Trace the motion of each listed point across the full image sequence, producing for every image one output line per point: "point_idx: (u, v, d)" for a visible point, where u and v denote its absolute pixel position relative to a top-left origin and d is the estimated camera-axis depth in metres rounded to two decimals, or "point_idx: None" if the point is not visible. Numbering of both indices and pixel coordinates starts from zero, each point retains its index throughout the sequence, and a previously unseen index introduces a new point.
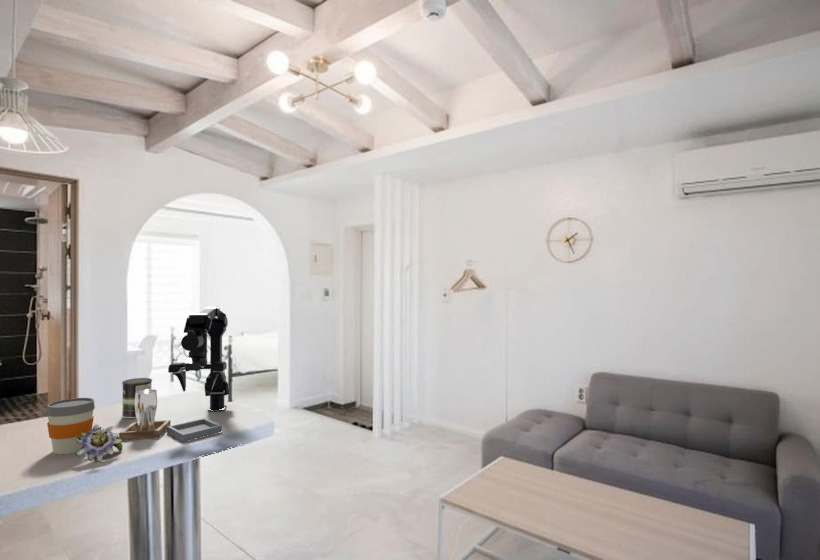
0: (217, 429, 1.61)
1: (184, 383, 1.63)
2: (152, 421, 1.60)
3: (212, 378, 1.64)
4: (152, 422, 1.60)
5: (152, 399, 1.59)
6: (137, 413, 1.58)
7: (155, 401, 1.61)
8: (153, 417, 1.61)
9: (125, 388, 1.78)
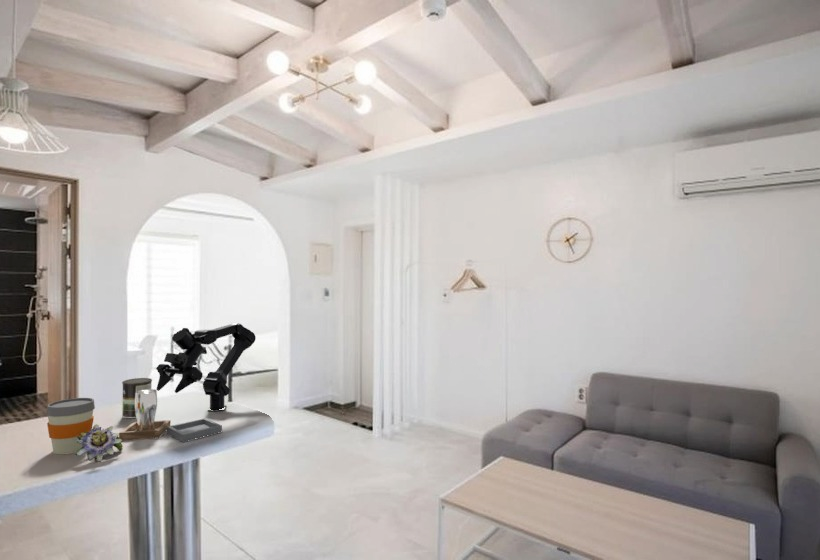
0: (217, 429, 1.61)
1: (161, 383, 1.72)
2: (152, 421, 1.60)
3: (182, 379, 1.68)
4: (152, 422, 1.60)
5: (152, 399, 1.59)
6: (137, 413, 1.58)
7: (155, 401, 1.61)
8: (153, 417, 1.61)
9: (125, 388, 1.78)
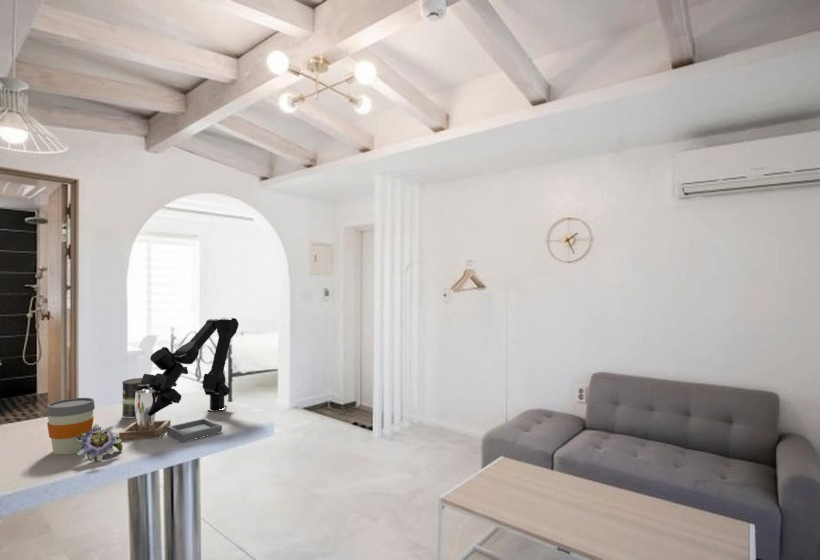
0: (217, 429, 1.61)
1: None
2: (152, 421, 1.60)
3: (156, 402, 1.60)
4: (152, 422, 1.60)
5: (152, 399, 1.59)
6: (137, 413, 1.58)
7: (155, 401, 1.61)
8: (153, 417, 1.61)
9: (125, 388, 1.78)
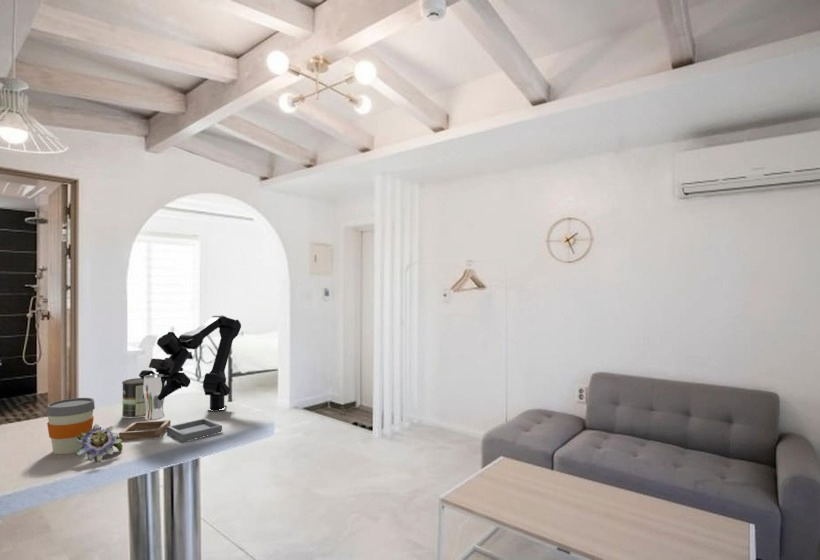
0: (217, 429, 1.61)
1: None
2: (161, 405, 1.60)
3: (166, 386, 1.60)
4: (161, 406, 1.60)
5: (161, 383, 1.59)
6: (146, 397, 1.57)
7: (164, 385, 1.61)
8: (162, 401, 1.60)
9: (125, 388, 1.78)
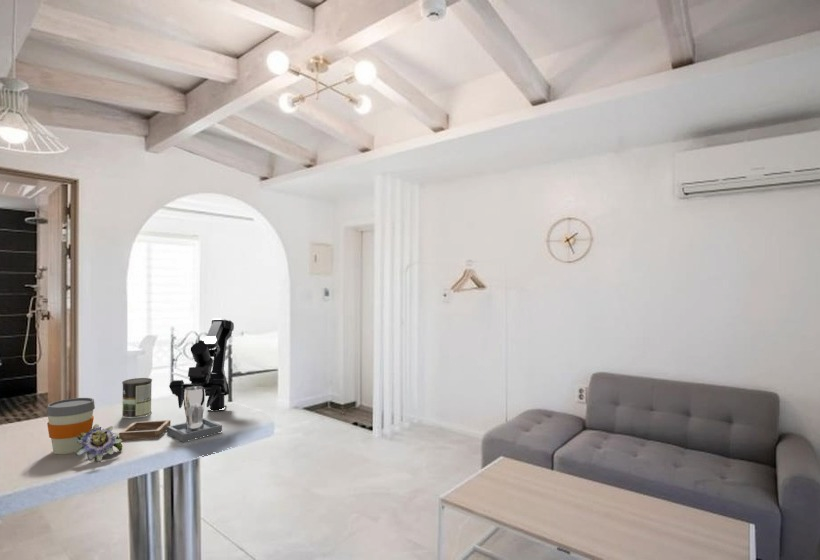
0: (217, 429, 1.61)
1: (181, 400, 1.61)
2: (202, 416, 1.63)
3: (211, 393, 1.63)
4: (202, 417, 1.63)
5: (204, 394, 1.62)
6: (191, 410, 1.58)
7: (204, 396, 1.63)
8: None
9: (125, 388, 1.78)
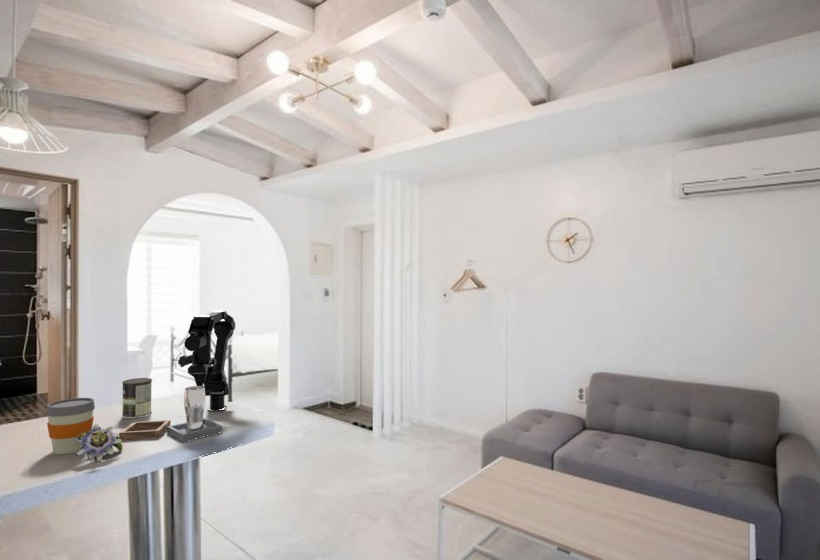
0: (217, 429, 1.61)
1: (205, 377, 1.80)
2: (202, 416, 1.63)
3: None
4: (202, 417, 1.63)
5: (204, 394, 1.62)
6: (191, 410, 1.59)
7: None
8: (203, 412, 1.63)
9: (125, 388, 1.78)
